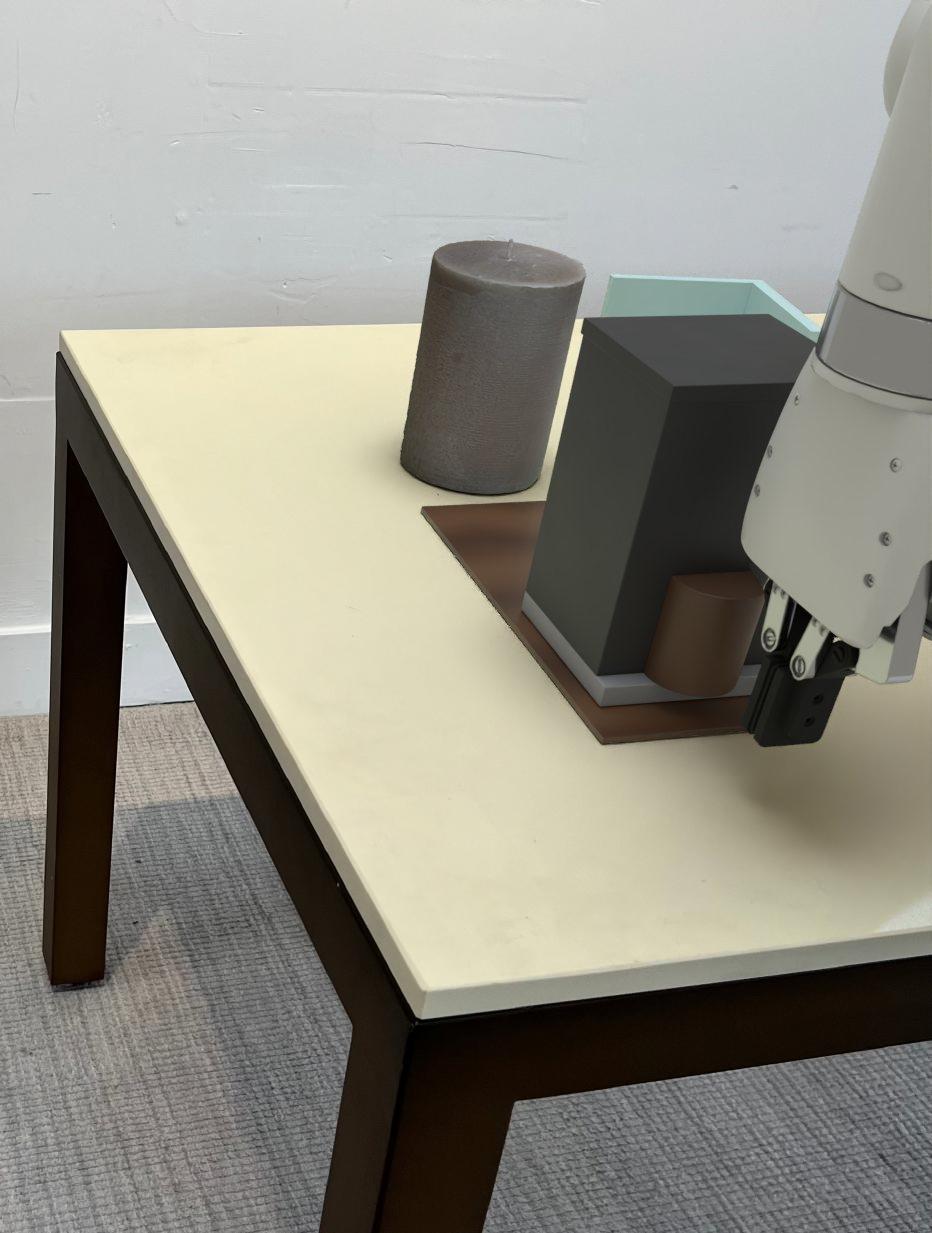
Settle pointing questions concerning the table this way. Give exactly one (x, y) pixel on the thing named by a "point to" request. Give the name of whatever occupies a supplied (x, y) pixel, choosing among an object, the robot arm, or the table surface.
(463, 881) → the table surface
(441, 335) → the pillar candle
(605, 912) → the table surface
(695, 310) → the right angle wall
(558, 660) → the base board
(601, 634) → the coffee maker
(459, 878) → the table surface
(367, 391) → the table surface
